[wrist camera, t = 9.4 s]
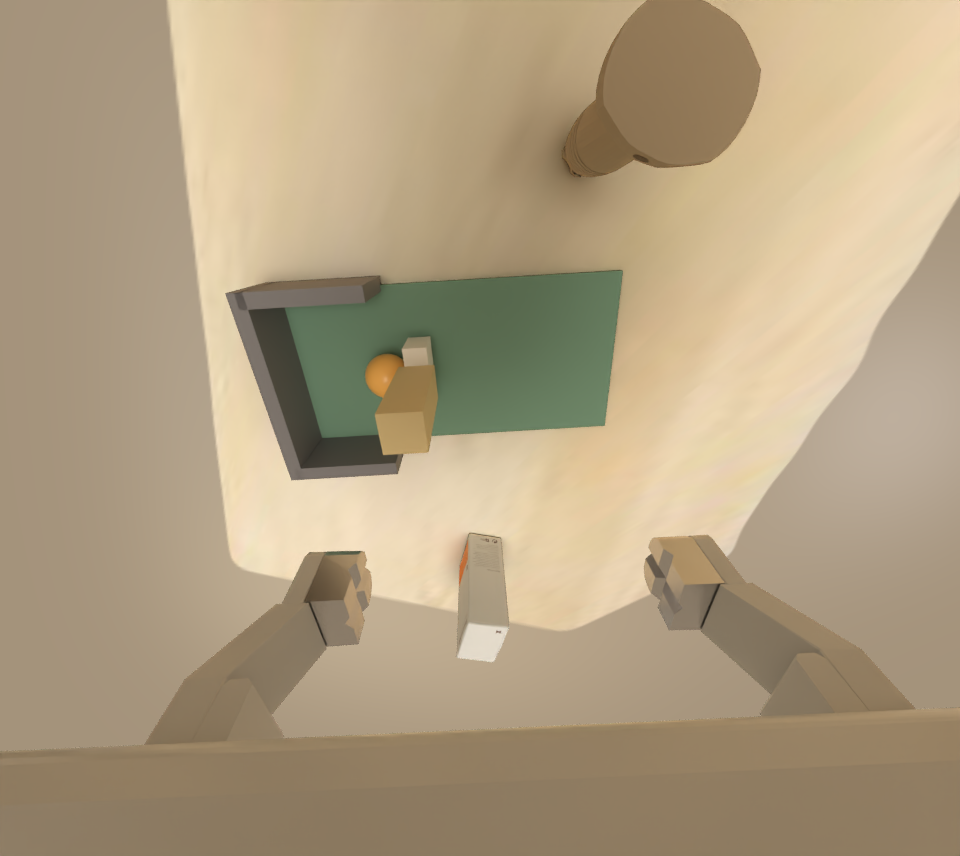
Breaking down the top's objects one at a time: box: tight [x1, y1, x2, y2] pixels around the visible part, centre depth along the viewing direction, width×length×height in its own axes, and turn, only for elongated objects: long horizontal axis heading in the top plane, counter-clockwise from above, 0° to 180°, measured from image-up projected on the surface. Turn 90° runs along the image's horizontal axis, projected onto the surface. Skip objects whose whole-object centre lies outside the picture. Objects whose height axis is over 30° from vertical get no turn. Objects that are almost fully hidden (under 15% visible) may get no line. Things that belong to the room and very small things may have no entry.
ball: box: [365, 354, 404, 398], centre depth 34 cm, size 4×4×4 cm
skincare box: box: [457, 533, 509, 662], centre depth 43 cm, size 6×4×12 cm
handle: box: [562, 0, 761, 177], centre depth 22 cm, size 5×6×15 cm
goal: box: [225, 276, 403, 480], centre depth 33 cm, size 16×10×6 cm, turn 3°
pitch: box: [285, 270, 623, 438], centre depth 36 cm, size 15×31×1 cm, turn 93°
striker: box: [375, 336, 438, 455], centre depth 30 cm, size 6×3×13 cm, turn 3°
